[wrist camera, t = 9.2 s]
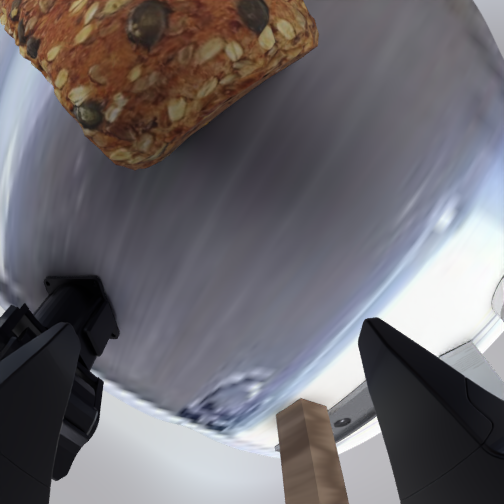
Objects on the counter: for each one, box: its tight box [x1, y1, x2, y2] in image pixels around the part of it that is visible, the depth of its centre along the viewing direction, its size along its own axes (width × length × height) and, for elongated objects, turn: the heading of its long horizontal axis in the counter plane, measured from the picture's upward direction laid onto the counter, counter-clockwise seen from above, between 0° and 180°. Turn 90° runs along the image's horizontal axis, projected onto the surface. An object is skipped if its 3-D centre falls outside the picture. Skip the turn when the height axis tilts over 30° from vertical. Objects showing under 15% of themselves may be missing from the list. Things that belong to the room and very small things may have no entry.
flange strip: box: [275, 381, 377, 452], centre depth 30 cm, size 22×7×1 cm, turn 150°
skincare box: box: [439, 341, 504, 400], centre depth 22 cm, size 6×4×12 cm
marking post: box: [276, 398, 349, 504], centre depth 22 cm, size 4×4×16 cm
